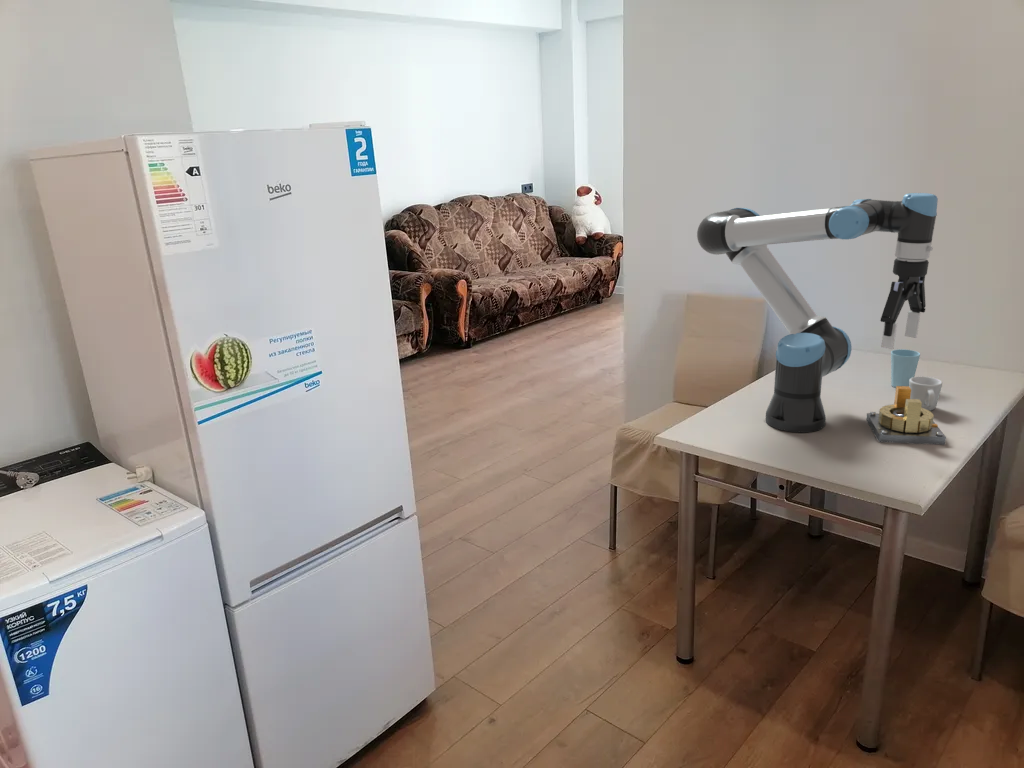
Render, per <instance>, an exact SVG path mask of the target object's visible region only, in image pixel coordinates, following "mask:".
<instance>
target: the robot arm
mask: <svg viewBox="0 0 1024 768" xmlns="http://www.w3.org/2000/svg"><path fill="white" fill-rule="evenodd" d="M938 199H939V198H938V196H937V195H936V194H933V193H927V192H911V193H910V192H909V193H905V194H904V195H903V197H902V200H900V201H898V200H895V201H894V200H880V199H872V198H866V199H865V198H864V199H863V198H862V199H859V198H858V199H854V201H852V203H851V204H850V205H844V206H835V207H828V208H820V209H819V208H818V209H810V210H801V211H792V212H783V213H774V214H765V215H760V214H759V213H758V212H756V211H755V210H753V209H752V208H747V207H735V208H732V209H728V210H723V211H717V212H714V213H710V214H709V215H707V216H705V217H704V218H703V219H702V220H701V222H700V223H699V225H698V228H697V232H696V237H697V238H696V239H697V242H698V244H699V246H700V247H701V248H702V250H704V251H705V252H707V253H708V254H711V255H716V256H717V255H724V254H726V256H727V257H728V259H729V260H730V262H731V263H732V264H734V265H740V266H741V268H742V269H743V270H744V272H745V273H746V274H747V276H748V277H749V279H750V280H751V282H752V283H753V284H754V286H755V287H756V289H757V290H758V291H759V293H760V295H761V296H762V297H763V298H764V300H765V301H766V303H767V305H769V307H770V308H771V310H772V312H774V314H775V315H776V316H777V318H778V319H779V321H780V322H781V324H782V325H783V326H784V327H785V329H786V330H787V332H788V334H787V335H785V336H783V337H782V338H780V339H779V340H778V342H777V346H776V350H775V369H774V370H775V373H774V387H773V395H772V397H771V400H770V402H769V404H768V406H767V409H766V411H765V422H766V424H767V425H768V426H770V427H773V428H774V429H777V430H781V431H784V432H791V433H810V432H811V433H812V432H818V431H820V430H822V429H823V428H825V426H826V417H827V416H826V411H825V409H824V405H823V401H822V397H821V392H822V384H823V377H825V376H827V375H829V374H831V373H832V372H836V371H837V370H839V369H841V368H842V367H843V366H844V365H845V364H846V363H847V362H848V361H849V359H850V357H851V354H852V341H851V339H850V337H849V335H848V333H846V332H845V331H844V330H843V329H842V328H840V327H836V326H833V325H832V324H831V323H830V322H829V320H828V318H827V317H825V316H820V315H818V314H817V313H816V312H815V311H814V309H812V307H811V305H810V304H809V303H808V301H807V299H806V298H805V297H804V295H803V294H802V293H801V291H800V290H799V289H798V288H797V286H796V285H795V283H794V282H793V280H792V279H791V278H790V277H789V275H788V273H787V272H786V271H785V270H784V268H783V267H782V265H781V264H780V263H779V261H778V260H777V258H776V257H775V256H774V255H773V253H772V252H771V251H770V249H769V247H768V245H777V244H789V243H801V242H810V241H811V242H813V241H824V240H826V241H827V240H835V239H836V240H837V239H839V240H853V239H856V238H858V237H861V236H864V235H867V234H871V233H873V232H874V233H875V232H881V233H882V232H883V233H894V234H896V233H897V238H896V239H897V240H896V246H895V250H894V257H895V259H894V260H893V267H892V268H893V269H892V274H894V275H895V276H898V279H897V281H892V282H891V285H890V288H889V289H890V290H889V293H888V296H887V299H886V302H885V305H884V308H883V311H882V314H881V317H880V320H879V321H880V322H881V323H884V324H883V331H882V337H881V345H880V347H881V348H884V349H888V350H895V349H894V347H895V342H896V341H895V340H896V335H897V328H898V323H897V320H898V317H899V315H900V313H901V311H902V309H903V307H904V304H905V303H906V301H907V302H908V306H909V311H908V312H907V318H906V325H905V326H906V327H905V332H904V337H907V338H915V339H916V338H918V331H919V326H920V325H919V324H920V319H921V313H923V314H924V313H925V312H926V304H927V303H926V288H925V287H926V286H925V279H926V276H927V275H928V269H929V260H928V259H929V258H930V256H931V255H930V254H931V251H933V248H934V247H933V246H932V241H933V235H934V231H935V224H936V220H937V216H938V215H937V214H938V212H937V209H938V202H939V201H938Z"/></svg>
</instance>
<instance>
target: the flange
mask: <svg viewBox="0 0 1024 768" xmlns="http://www.w3.org/2000/svg"><path fill="white" fill-rule="evenodd" d="M893 415H896V416H899V417H904V410H895V411H893ZM865 419H866V420H865V421H866V422H867V424H868V426H869V428H870V430H871V432H872V433H873V434H874V436H875V438H876V440H877V441H878V443H893V444H894V443H897V444H916V445H917V444H918V445H919V444H920V445H943V446H946V440H947V436H946V435H945V433H943V432H942V430H941V429H940V427H939V426H938V424H937V423H935V422H934V420H933V425H932V428H931V429H930V430H928V431H925V432H917V433H912V432H905V431H904V432H901V431H896V430H891V429H889V428H886V427H884V426H882V425H881V424H880V423H879V421H878V419H879V412H875V411H870V412H867V413H866V418H865Z"/></svg>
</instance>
